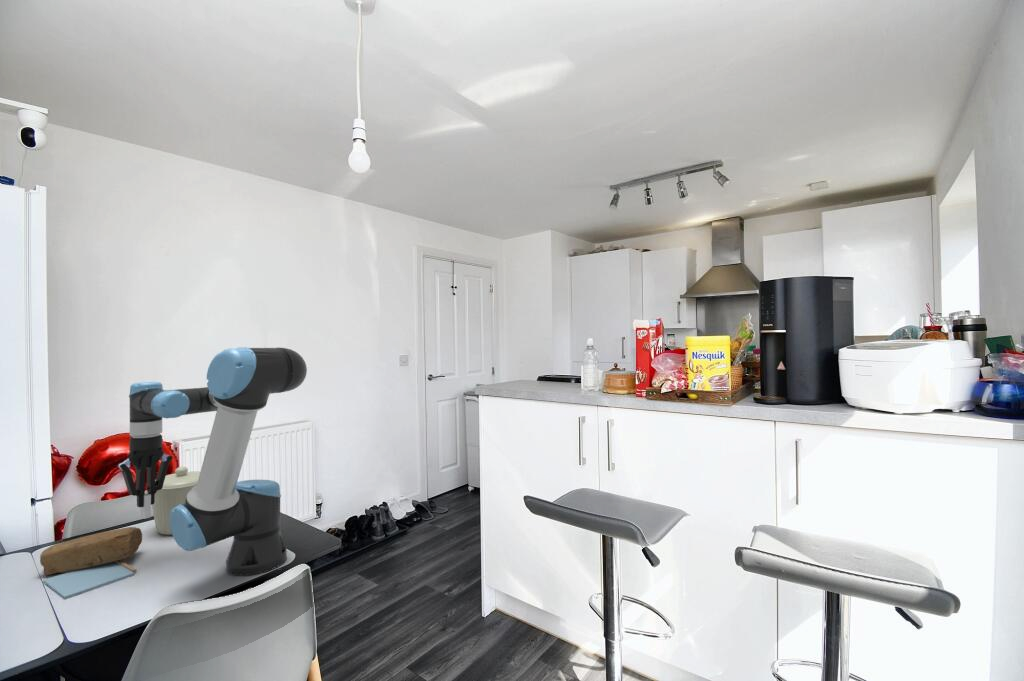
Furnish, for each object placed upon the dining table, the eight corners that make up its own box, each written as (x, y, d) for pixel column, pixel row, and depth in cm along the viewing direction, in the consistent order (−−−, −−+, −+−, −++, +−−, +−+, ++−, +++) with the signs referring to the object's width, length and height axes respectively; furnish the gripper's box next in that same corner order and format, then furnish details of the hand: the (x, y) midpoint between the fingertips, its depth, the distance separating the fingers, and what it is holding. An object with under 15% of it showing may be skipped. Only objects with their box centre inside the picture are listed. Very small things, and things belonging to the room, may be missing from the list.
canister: (162, 522, 163) (162, 462, 164) (220, 517, 168) (220, 458, 169) (136, 543, 146) (136, 476, 146) (201, 536, 151) (201, 471, 151)
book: (137, 573, 126) (137, 570, 126) (64, 599, 113) (64, 595, 113) (113, 560, 134) (113, 556, 134) (43, 582, 122) (43, 578, 122)
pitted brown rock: (127, 533, 130) (35, 553, 123) (130, 560, 130) (38, 581, 123) (142, 521, 140) (58, 538, 133) (145, 545, 140) (61, 564, 133)
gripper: (166, 430, 142) (165, 508, 142) (112, 438, 131) (112, 521, 131) (177, 433, 138) (177, 512, 138) (123, 440, 127) (123, 527, 127)
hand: (145, 516), depth 134 cm, fingers closed
